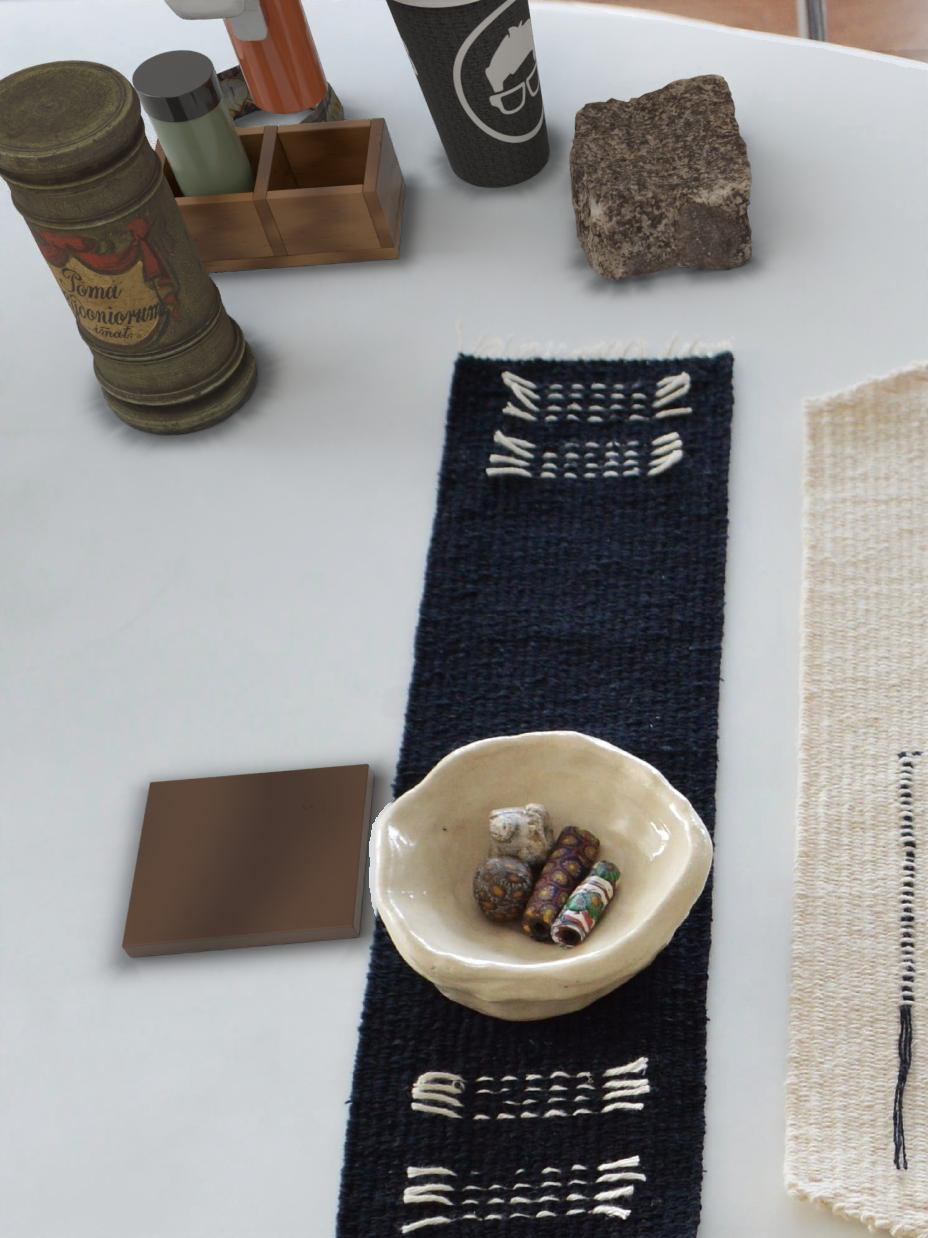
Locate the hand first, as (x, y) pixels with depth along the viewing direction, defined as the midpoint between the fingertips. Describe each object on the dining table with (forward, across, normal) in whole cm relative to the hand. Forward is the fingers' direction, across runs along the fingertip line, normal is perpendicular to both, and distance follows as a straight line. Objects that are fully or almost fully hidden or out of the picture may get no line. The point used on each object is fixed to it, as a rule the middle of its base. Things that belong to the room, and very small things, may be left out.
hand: (259, 4), depth 106 cm
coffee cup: (+14, -6, +10) cm, 19 cm away
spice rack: (+14, 0, -3) cm, 15 cm away
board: (+14, +50, 0) cm, 52 cm away
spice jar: (+5, 0, 0) cm, 5 cm away
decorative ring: (+15, -9, -5) cm, 18 cm away
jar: (+14, 0, -6) cm, 15 cm away
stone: (+14, +1, +21) cm, 26 cm away
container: (+15, +14, -8) cm, 22 cm away
